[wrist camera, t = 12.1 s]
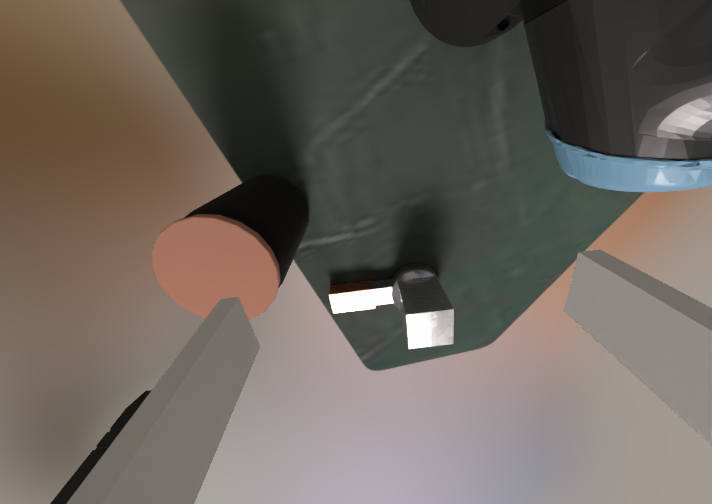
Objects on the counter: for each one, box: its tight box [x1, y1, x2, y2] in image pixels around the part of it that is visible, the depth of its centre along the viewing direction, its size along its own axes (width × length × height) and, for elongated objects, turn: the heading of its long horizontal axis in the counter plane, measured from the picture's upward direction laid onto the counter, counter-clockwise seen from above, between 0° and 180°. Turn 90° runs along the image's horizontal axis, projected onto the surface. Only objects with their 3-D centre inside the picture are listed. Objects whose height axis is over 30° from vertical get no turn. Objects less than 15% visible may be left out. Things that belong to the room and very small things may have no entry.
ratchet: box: [329, 263, 442, 313], centre depth 42 cm, size 18×8×7 cm, turn 99°
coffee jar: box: [152, 176, 309, 319], centre depth 31 cm, size 11×11×18 cm
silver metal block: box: [397, 276, 454, 349], centre depth 38 cm, size 6×6×8 cm
